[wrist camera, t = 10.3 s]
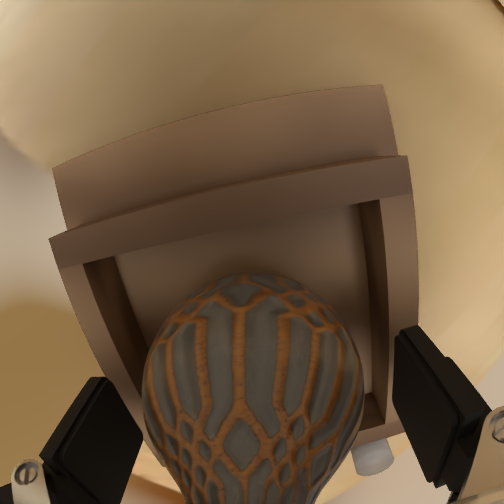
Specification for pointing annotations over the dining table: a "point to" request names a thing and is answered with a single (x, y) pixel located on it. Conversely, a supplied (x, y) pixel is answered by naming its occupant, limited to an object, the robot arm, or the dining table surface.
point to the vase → (253, 392)
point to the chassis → (247, 231)
